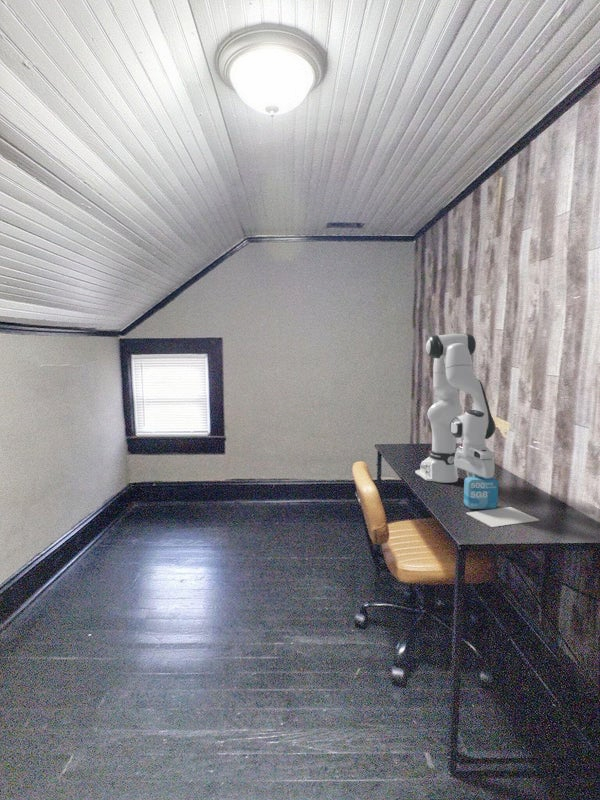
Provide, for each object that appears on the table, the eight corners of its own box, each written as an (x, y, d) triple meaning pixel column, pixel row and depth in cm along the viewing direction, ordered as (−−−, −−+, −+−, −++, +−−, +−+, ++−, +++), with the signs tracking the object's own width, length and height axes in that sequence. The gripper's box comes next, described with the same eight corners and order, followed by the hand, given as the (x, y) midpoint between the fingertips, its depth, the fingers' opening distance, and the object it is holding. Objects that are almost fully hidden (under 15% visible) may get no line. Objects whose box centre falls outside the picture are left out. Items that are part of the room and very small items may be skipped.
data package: (468, 509, 169) (469, 480, 168) (463, 505, 174) (464, 476, 173) (497, 508, 170) (498, 479, 169) (492, 505, 174) (493, 476, 173)
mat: (465, 513, 165) (465, 512, 165) (510, 507, 172) (510, 506, 172) (492, 527, 152) (492, 526, 152) (539, 520, 159) (539, 519, 159)
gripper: (450, 445, 183) (449, 476, 184) (484, 456, 164) (483, 491, 165) (463, 444, 185) (461, 475, 186) (498, 455, 166) (496, 489, 167)
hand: (472, 483), depth 176 cm, fingers closed
